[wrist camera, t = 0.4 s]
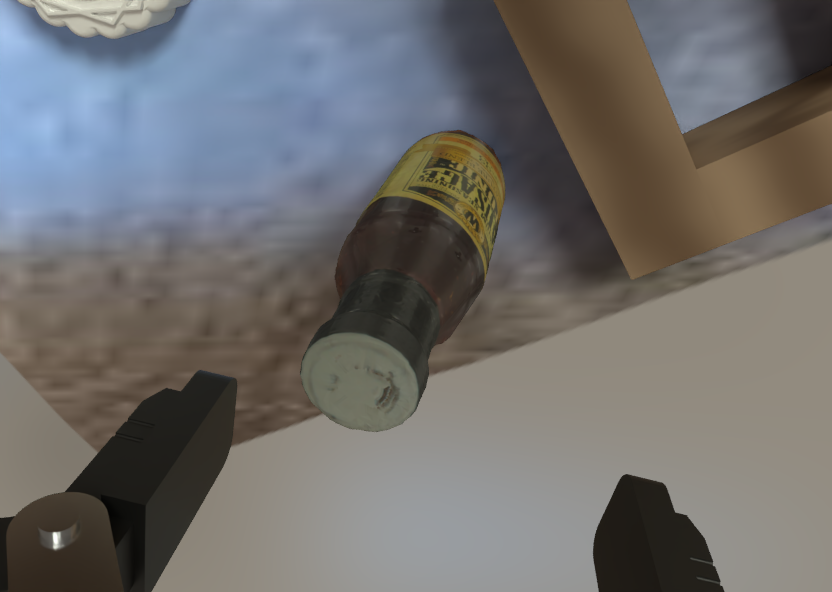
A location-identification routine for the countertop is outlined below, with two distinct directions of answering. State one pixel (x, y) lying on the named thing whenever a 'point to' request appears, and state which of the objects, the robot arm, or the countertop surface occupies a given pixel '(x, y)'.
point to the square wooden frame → (668, 137)
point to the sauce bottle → (406, 281)
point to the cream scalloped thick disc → (105, 15)
